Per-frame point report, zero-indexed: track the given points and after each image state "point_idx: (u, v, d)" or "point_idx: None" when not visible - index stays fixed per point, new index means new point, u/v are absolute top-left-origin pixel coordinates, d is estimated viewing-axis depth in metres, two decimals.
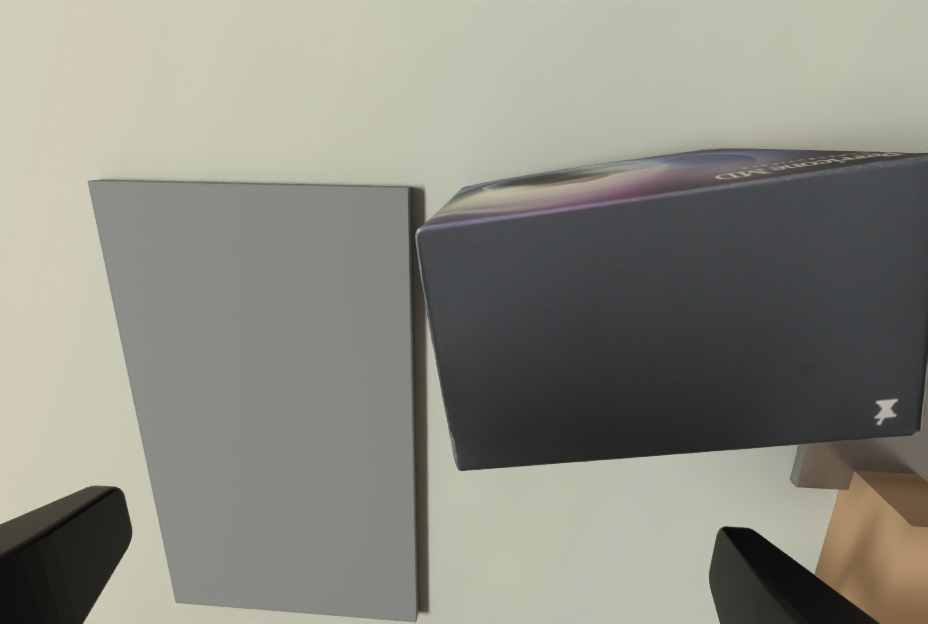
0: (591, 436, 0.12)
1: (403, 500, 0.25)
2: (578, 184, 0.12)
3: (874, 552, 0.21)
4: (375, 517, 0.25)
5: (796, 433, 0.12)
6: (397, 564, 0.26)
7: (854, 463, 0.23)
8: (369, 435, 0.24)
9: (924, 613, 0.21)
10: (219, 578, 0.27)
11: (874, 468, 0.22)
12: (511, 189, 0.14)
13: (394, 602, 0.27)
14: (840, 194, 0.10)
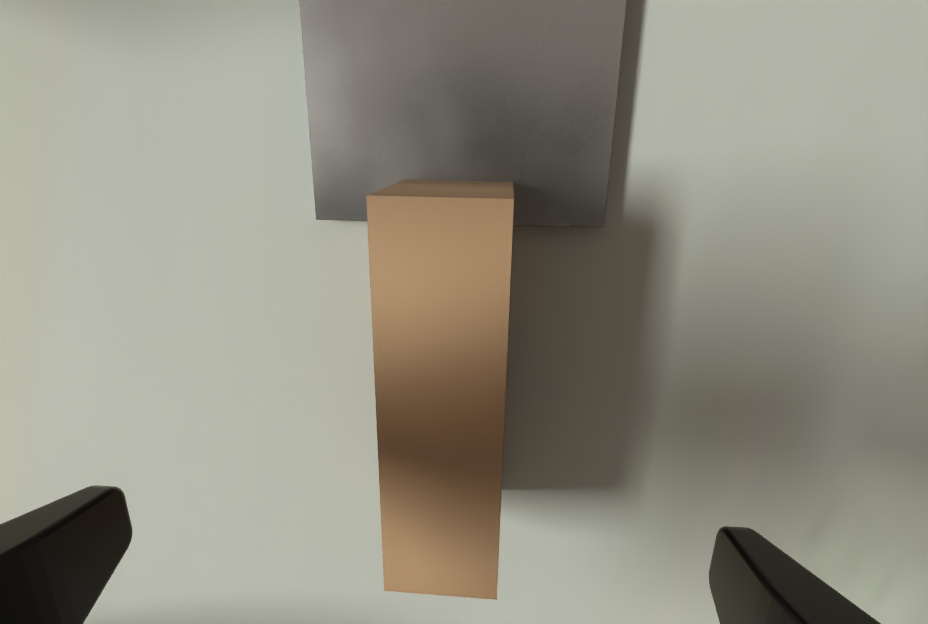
0: None
1: None
2: None
3: None
4: None
5: None
6: None
7: (399, 164, 0.12)
8: None
9: (453, 404, 0.10)
10: None
11: (435, 173, 0.12)
12: None
13: None
14: None
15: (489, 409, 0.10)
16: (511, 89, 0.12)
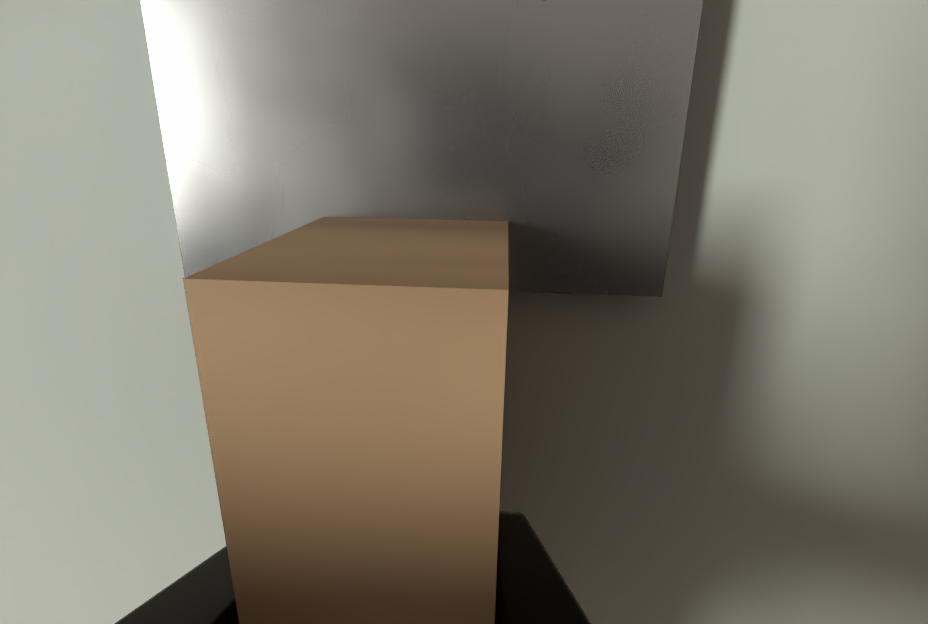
0: None
1: None
2: None
3: None
4: None
5: None
6: None
7: (316, 191, 0.07)
8: None
9: None
10: None
11: (376, 205, 0.07)
12: None
13: None
14: None
15: None
16: (505, 62, 0.07)
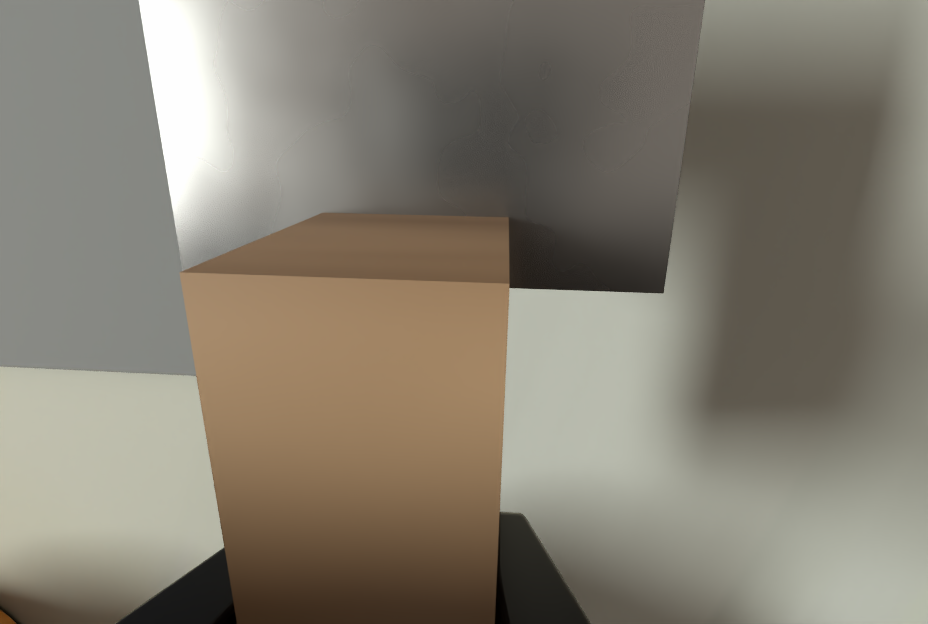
0: None
1: None
2: None
3: None
4: None
5: None
6: None
7: (315, 186, 0.07)
8: None
9: None
10: None
11: (375, 201, 0.07)
12: None
13: None
14: None
15: None
16: (505, 56, 0.07)
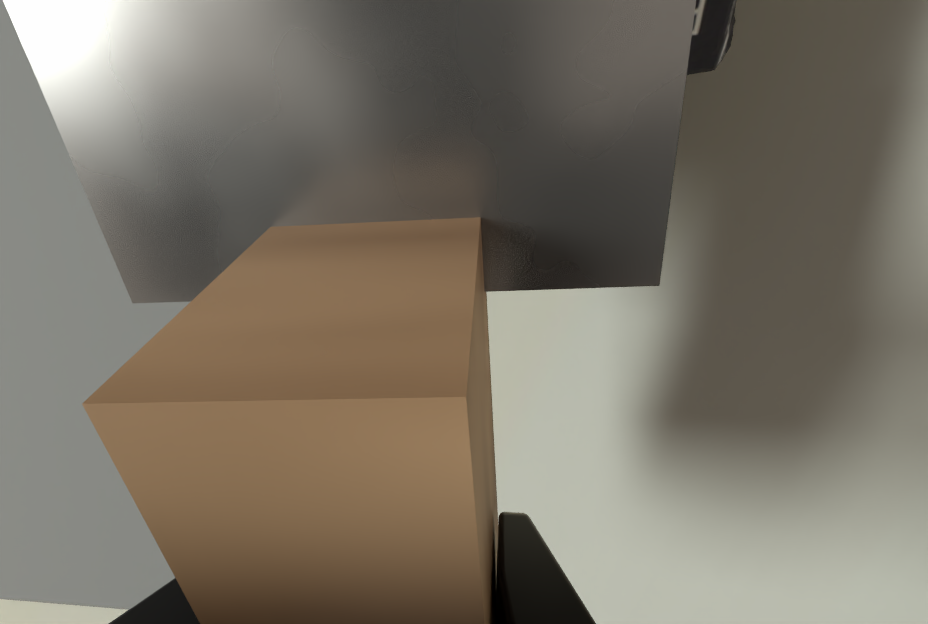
0: None
1: None
2: None
3: None
4: None
5: None
6: None
7: (257, 199, 0.06)
8: None
9: None
10: (15, 564, 0.21)
11: (327, 210, 0.06)
12: None
13: None
14: None
15: None
16: (459, 28, 0.05)
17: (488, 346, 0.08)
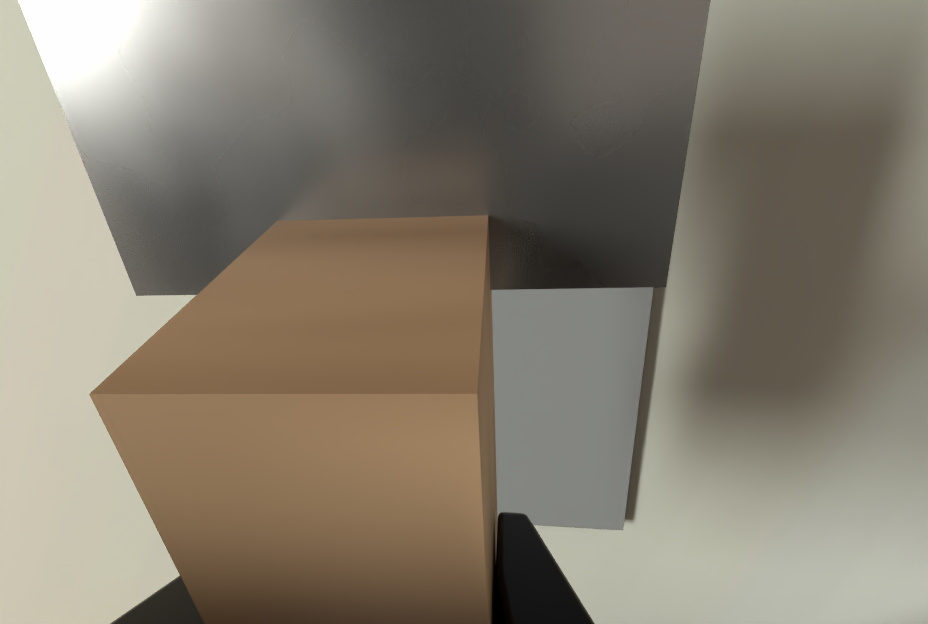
0: None
1: (631, 352, 0.18)
2: None
3: None
4: (587, 379, 0.19)
5: None
6: (609, 448, 0.19)
7: (264, 193, 0.06)
8: None
9: None
10: None
11: (335, 206, 0.06)
12: None
13: (596, 502, 0.20)
14: None
15: None
16: (471, 25, 0.05)
17: (492, 345, 0.08)
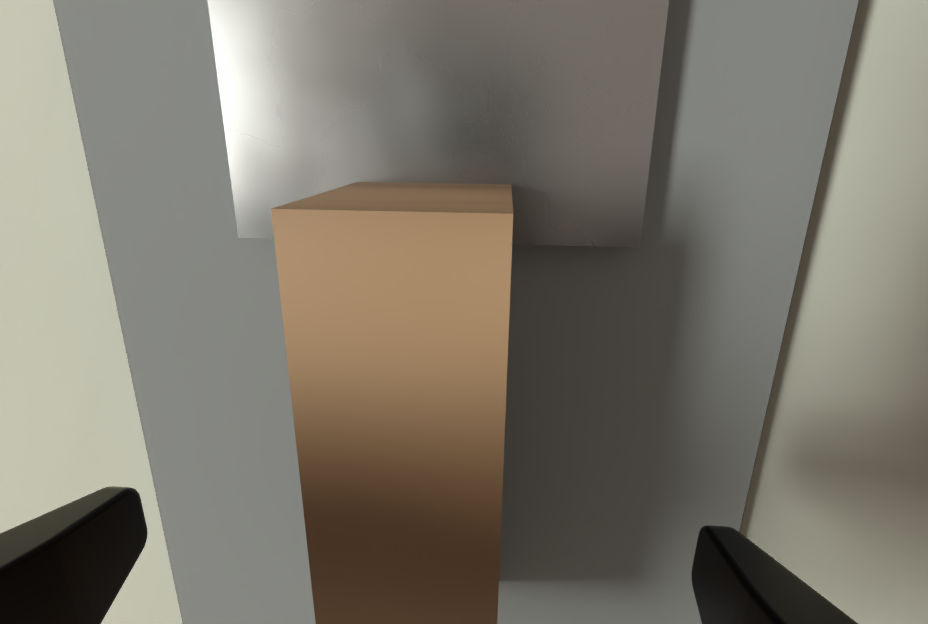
0: None
1: (723, 495, 0.11)
2: None
3: None
4: (647, 533, 0.11)
5: None
6: None
7: (350, 160, 0.09)
8: (674, 340, 0.10)
9: (424, 526, 0.07)
10: None
11: (401, 171, 0.09)
12: None
13: None
14: None
15: (477, 533, 0.07)
16: (508, 50, 0.08)
17: None
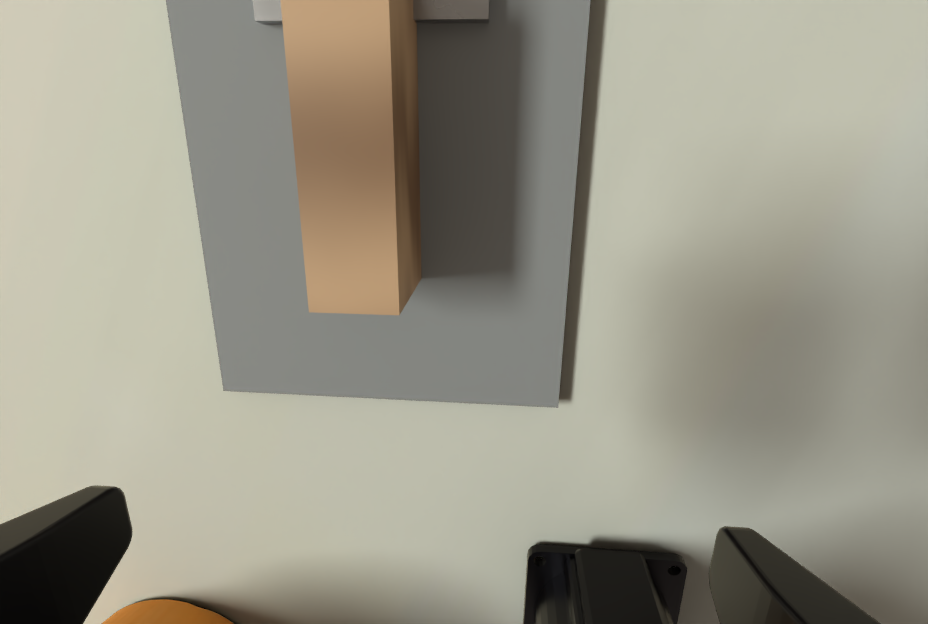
0: None
1: (559, 203, 0.17)
2: None
3: None
4: (515, 235, 0.18)
5: None
6: (540, 313, 0.19)
7: None
8: (519, 90, 0.16)
9: (353, 128, 0.13)
10: (286, 349, 0.20)
11: None
12: None
13: (529, 376, 0.19)
14: None
15: (381, 131, 0.13)
16: None
17: (416, 61, 0.16)
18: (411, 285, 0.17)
